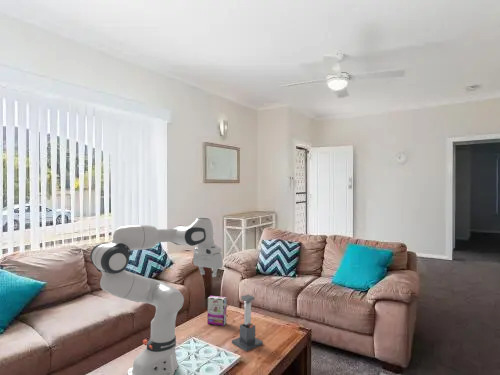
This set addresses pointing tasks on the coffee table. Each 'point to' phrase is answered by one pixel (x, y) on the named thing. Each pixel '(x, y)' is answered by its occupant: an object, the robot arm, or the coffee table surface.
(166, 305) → the robot arm
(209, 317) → the candy bar box
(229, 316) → the coffee table surface
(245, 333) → the jack stand base
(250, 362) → the coffee table surface
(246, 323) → the steel post
